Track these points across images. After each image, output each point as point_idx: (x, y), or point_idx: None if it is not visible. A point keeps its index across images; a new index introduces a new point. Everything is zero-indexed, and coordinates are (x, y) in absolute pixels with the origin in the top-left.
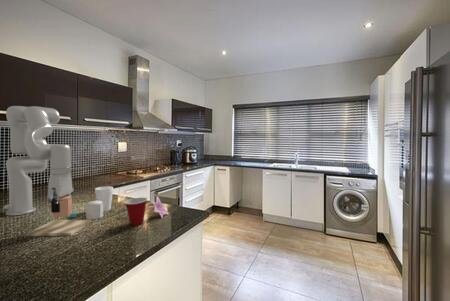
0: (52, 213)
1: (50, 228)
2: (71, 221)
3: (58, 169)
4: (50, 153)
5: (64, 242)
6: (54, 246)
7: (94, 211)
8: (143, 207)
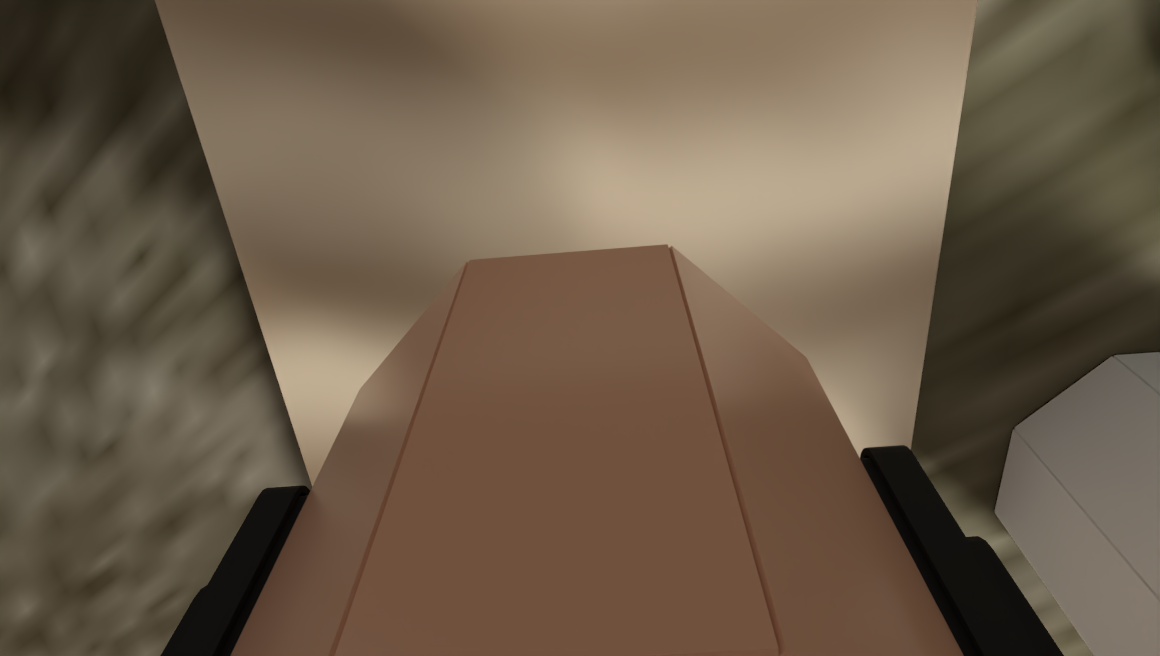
0: (341, 435)
1: (447, 188)
2: (830, 315)
3: None
4: None
5: (167, 604)
6: (49, 575)
7: (1081, 634)
8: None
